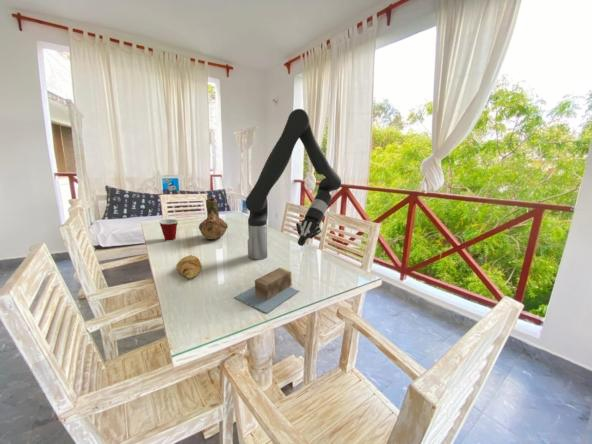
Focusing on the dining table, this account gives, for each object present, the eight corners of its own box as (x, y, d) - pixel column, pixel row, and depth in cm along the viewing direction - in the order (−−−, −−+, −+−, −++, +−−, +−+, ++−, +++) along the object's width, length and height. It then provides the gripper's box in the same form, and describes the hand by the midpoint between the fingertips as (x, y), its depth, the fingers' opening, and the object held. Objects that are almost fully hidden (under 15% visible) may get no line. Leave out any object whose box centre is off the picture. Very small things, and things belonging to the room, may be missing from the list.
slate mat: (266, 313, 83) (266, 312, 83) (234, 298, 93) (234, 297, 93) (299, 291, 97) (299, 290, 97) (268, 279, 107) (268, 278, 107)
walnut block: (291, 285, 101) (267, 300, 91) (279, 281, 105) (255, 295, 94) (291, 271, 100) (266, 285, 89) (279, 267, 103) (254, 280, 93)
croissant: (199, 286, 108) (207, 270, 107) (174, 281, 103) (183, 263, 102) (194, 267, 126) (201, 252, 126) (173, 261, 121) (180, 246, 121)
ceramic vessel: (198, 246, 145) (194, 203, 139) (201, 234, 170) (197, 196, 163) (229, 244, 150) (226, 202, 144) (227, 232, 174) (225, 195, 168)
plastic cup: (175, 242, 153) (173, 222, 150) (157, 242, 153) (154, 222, 150) (183, 236, 163) (181, 218, 160) (166, 236, 163) (164, 218, 160)
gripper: (301, 205, 115) (283, 237, 109) (326, 208, 108) (309, 243, 101) (307, 214, 121) (291, 245, 114) (332, 218, 113) (316, 252, 106)
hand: (300, 244), depth 108 cm, fingers closed
